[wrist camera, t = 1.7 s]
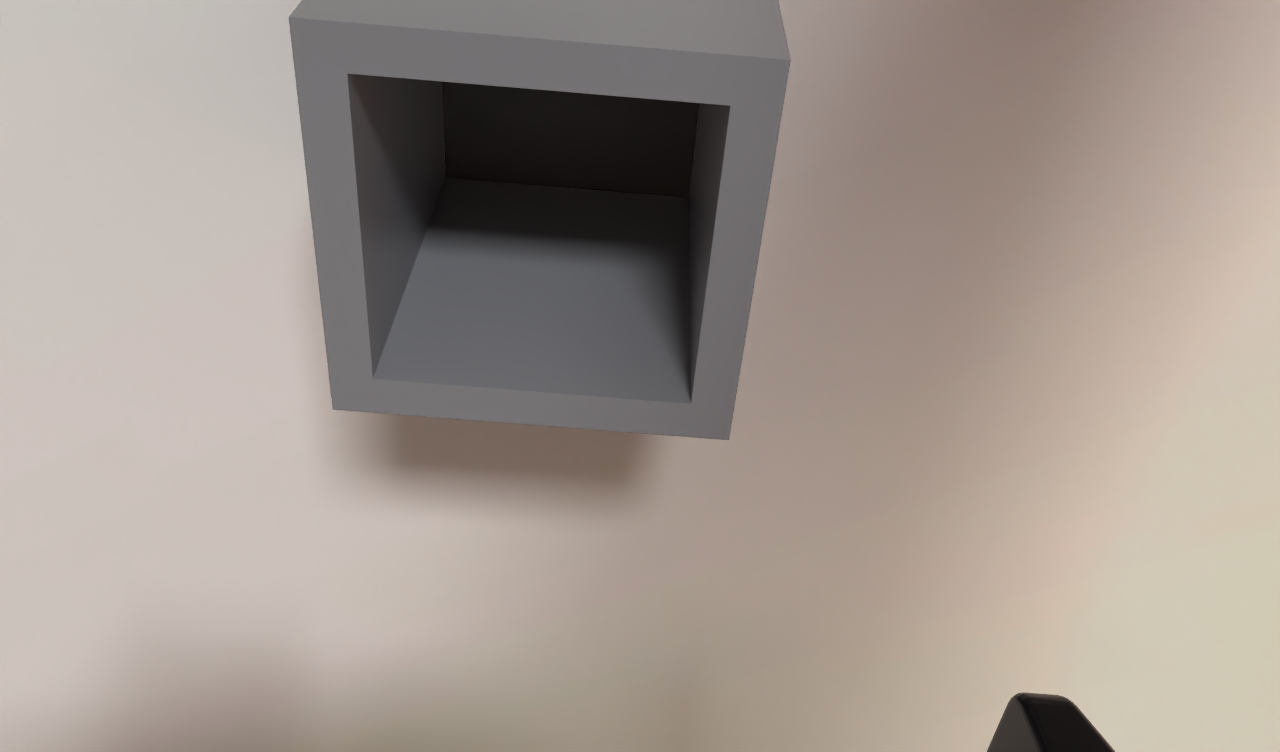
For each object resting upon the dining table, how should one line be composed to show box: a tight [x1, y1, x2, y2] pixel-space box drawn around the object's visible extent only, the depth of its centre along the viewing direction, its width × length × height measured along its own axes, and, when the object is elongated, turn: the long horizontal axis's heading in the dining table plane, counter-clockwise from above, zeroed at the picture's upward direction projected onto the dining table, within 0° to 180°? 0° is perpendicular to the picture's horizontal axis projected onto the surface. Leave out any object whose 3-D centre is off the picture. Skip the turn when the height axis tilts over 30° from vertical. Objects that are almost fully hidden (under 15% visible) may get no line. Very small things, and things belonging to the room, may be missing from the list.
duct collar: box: [289, 0, 790, 440], centre depth 17 cm, size 6×6×6 cm
